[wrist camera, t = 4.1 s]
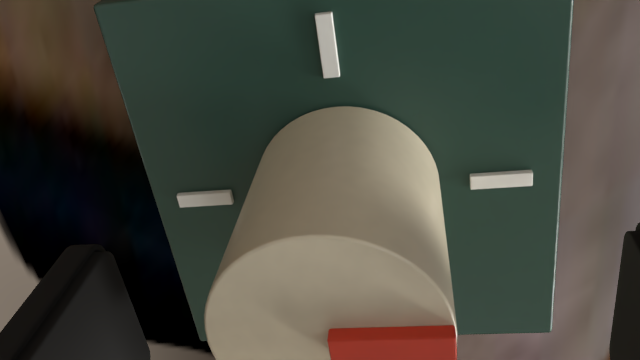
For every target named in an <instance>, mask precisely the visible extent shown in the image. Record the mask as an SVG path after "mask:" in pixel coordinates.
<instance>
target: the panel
mask: <svg viewBox="0 0 640 360" xmlns="http://www.w3.org/2000/svg"><path fill="white" fill-rule="evenodd" d="M573 4H574V0H102V1H100V2H98V3H97V4H95V5H94V10H95V14H96V17H97V20H98V23H99V26H100V29H101V32H102V35H103V39H104V42H105V45H106V48H107V51H108V54H109V57H110V60H111V63H112V67H113V70H114V73H115V76H116V79H117V82H118V85H119V88H120V91H121V95H122V98H123V101H124V104H125V107H126V110H127V113H128V116H129V120H130V123H131V126H132V129H133V132H134V135H135V138H136V141H137V144H138V148H139V151H140V154H141V157H142V160H143V163H144V166H145V169H146V173H147V176H148V179H149V182H150V185H151V188H152V191H153V194H154V197H155V201H156V204H157V207H158V210H159V213H160V216H161V219H162V222H163V225H164V229H165V232H166V235H167V238H168V241H169V244H170V247H171V250H172V254H173V257H174V260H175V263H176V266H177V269H178V272H179V275H180V278H181V282H182V285H183V288H184V291H185V294H186V297H187V300H188V303H189V306H190V310H191V313H192V316H193V319H194V322H195V325H196V328H197V331H198V335H199V338H200V340H201V341H207V337H206V332H205V325H204V312H205V304H206V301H207V298H208V294H209V292H210V289H211V286H212V284H213V281H214V279H215V276H216V274H217V271H218V268H219V266H220V263H221V261H222V258H223V256H224V253H225V250H226V248H227V245H228V243H229V240H230V238H231V235H232V233H233V230H234V227H235V225H236V222H237V220H238V217H239V215H240V212H241V209H242V207H243V204H244V202H245V199H246V197H247V194H248V192H249V189H250V186H251V184H252V181H253V179H254V176H255V174H256V171H257V168H258V166H259V163H260V161H261V158H262V156H263V154H264V152H265V150H266V148H267V146H268V145H269V143H270V142H271V140H272V139H273V138H274V136H275V135H276V134H277V133H278V132H279V131H280V130H281V129H282V128H284V127H285V126H286V125H288V124H289V123H290V122H292V121H294V120H295V119H297V118H299V117H300V116H303V115H305V114H308V113H310V112H313V111H316V110H320V109H324V108H330V107H342V106H351V107H361V108H366V109H370V110H375V111H377V112H380V113H383V114H386V115H388V116H390V117H392V118H394V119H396V120H398V121H399V122H401V123H402V124H404V125H405V126H407V127H408V128H409V129H411V130H412V131H413V132H414V133H415V134H416V135H417V136H418V137H419V138H420V139H421V140H422V141H423V143H424V144H425V145H426V147H427V148H428V150H429V151H430V153H431V155H432V157H433V159H434V161H435V163H436V167H437V170H438V174H439V182H440V190H441V198H442V207H443V215H444V223H445V232H446V240H447V248H448V257H449V265H450V273H451V282H452V290H453V299H454V307H455V315H456V324H457V332H458V335H463V334H504V333H544V332H551V330H552V321H553V306H554V291H555V276H556V260H557V245H558V230H559V215H560V200H561V185H562V170H563V155H564V140H565V125H566V110H567V94H568V79H569V64H570V49H571V34H572V19H573Z"/></svg>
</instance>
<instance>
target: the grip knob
mask: <svg viewBox="0 0 640 360" xmlns="http://www.w3.org/2000/svg"><path fill="white" fill-rule="evenodd" d="M204 325H205V332H206V337H207V341H208V344H209V346H210V349H211V351H212V354H213V355H214V357H215V359H216V360H457V338H458V332H457V324H456V315H455V307H454V299H453V290H452V282H451V273H450V265H449V257H448V248H447V240H446V232H445V223H444V215H443V207H442V198H441V190H440V182H439V174H438V170H437V167H436V163H435V161H434V159H433V157H432V155H431V153H430V151H429V150H428V148H427V147H426V145H425V144H424V143H423V141H422V140H421V139H420V138H419V137H418V136H417V135H416V134H415V133H414V132H413V131H412V130H411V129H409V128H408V127H407V126H405V125H404V124H402V123H401V122H399V121H398V120H396V119H394V118H392V117H390V116H388V115H386V114H383V113H380V112H377V111H375V110H370V109H366V108H361V107H351V106H342V107H330V108H324V109H320V110H316V111H313V112H310V113H308V114H305V115H303V116H300V117H299V118H297V119H295V120H294V121H292V122H290V123H289V124H288V125H286V126H285V127H284V128H282V129H281V130H280V131H279V132H278V133H277V134H276V135H275V136H274V138H273V139H272V140H271V142H270V143H269V145H268V146H267V148H266V150H265V152H264V154H263V156H262V158H261V161H260V163H259V166H258V168H257V171H256V174H255V176H254V179H253V181H252V184H251V186H250V189H249V192H248V194H247V197H246V199H245V202H244V204H243V207H242V209H241V212H240V215H239V217H238V220H237V222H236V225H235V227H234V230H233V233H232V235H231V238H230V240H229V243H228V245H227V248H226V250H225V253H224V256H223V258H222V261H221V263H220V266H219V268H218V271H217V274H216V276H215V279H214V281H213V284H212V286H211V289H210V292H209V294H208V298H207V301H206V304H205V312H204Z"/></svg>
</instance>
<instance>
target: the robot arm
mask: <svg viewBox="0 0 640 360" xmlns="http://www.w3.org/2000/svg"><path fill="white" fill-rule="evenodd" d="M0 360H150V350H149V347H148V344H147V342H146V339H145V337H144V334H143V331H142V329H141V326H140V324H139V321H138V318H137V316H136V313H135V311H134V308H133V305H132V303H131V300H130V298H129V295H128V292H127V290H126V287H125V285H124V282H123V279H122V277H121V274H120V272H119V269H118V266H117V264H116V261H115V259H114V256H113V254H112V253H111V252H108V251H105V249H104V248H103V247H102V246H101V245H98V244H91V245H72V246H69V247H68V248H66V249H65V251H64V252H63V253H62V254H61V256H60V257H59V258H58V259H57V261H56V262H55V263H54V265H53V266H52V267H51V268H50V270H49V271H48V272H47V274H46V275H45V276H44V277H43V279H42V280H41V281H40V282H39V284H38V285H37V286H36V288H35V289H34V290H33V291H32V293H31V294H30V295H29V297H28V298H27V299H26V300H25V302H24V303H23V304H22V306H21V307H20V308H19V309H18V311H17V312H16V313H15V314H14V316H13V317H12V318H11V320H10V321H9V322H8V324H7V325H6V326H5V327H4V329H3V330H2V331H1V332H0ZM610 360H640V223H638V225H637V227H636V231H628V232H626V234H625V236H624V242H623V250H622V257H621V265H620V272H619V280H618V287H617V295H616V302H615V310H614V317H613V325H612V332H611V340H610Z"/></svg>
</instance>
